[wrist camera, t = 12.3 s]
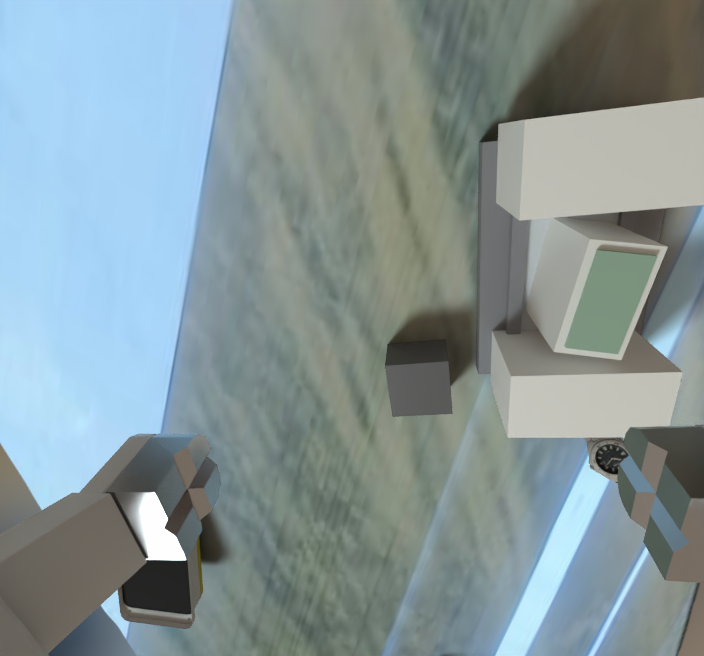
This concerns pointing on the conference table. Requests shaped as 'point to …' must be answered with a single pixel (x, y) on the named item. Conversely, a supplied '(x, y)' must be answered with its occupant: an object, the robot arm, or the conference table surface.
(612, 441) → the wristwatch
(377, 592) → the conference table surface
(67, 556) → the robot arm
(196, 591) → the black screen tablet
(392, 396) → the grey cube-like block
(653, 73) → the conference table surface
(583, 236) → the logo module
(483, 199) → the rail base
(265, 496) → the conference table surface
